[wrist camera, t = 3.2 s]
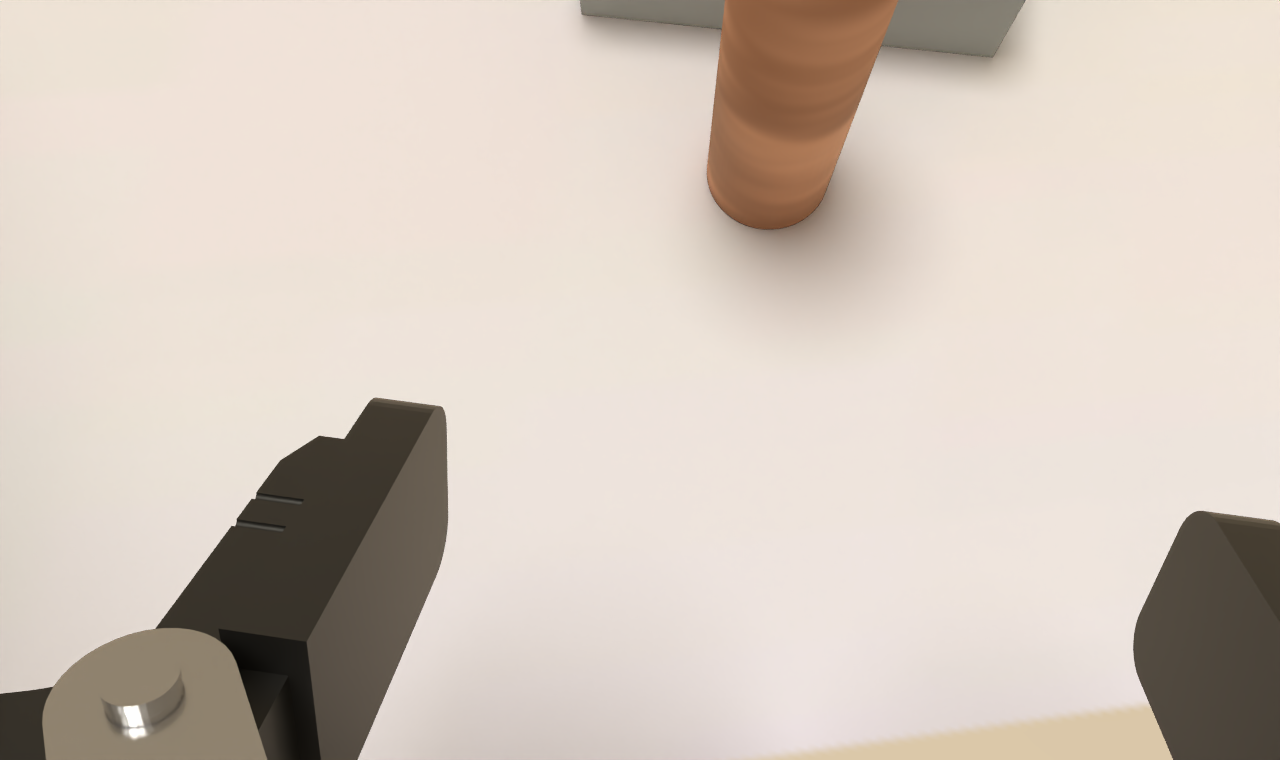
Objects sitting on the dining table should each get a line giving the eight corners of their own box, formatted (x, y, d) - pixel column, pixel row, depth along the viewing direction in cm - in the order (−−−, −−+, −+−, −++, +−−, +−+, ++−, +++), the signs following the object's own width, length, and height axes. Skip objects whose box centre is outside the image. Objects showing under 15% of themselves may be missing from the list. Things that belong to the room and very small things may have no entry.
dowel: (683, 155, 28) (697, -101, 18) (783, 97, 28) (849, -183, 19) (750, 251, 27) (802, 36, 17) (852, 190, 27) (958, -53, 18)
